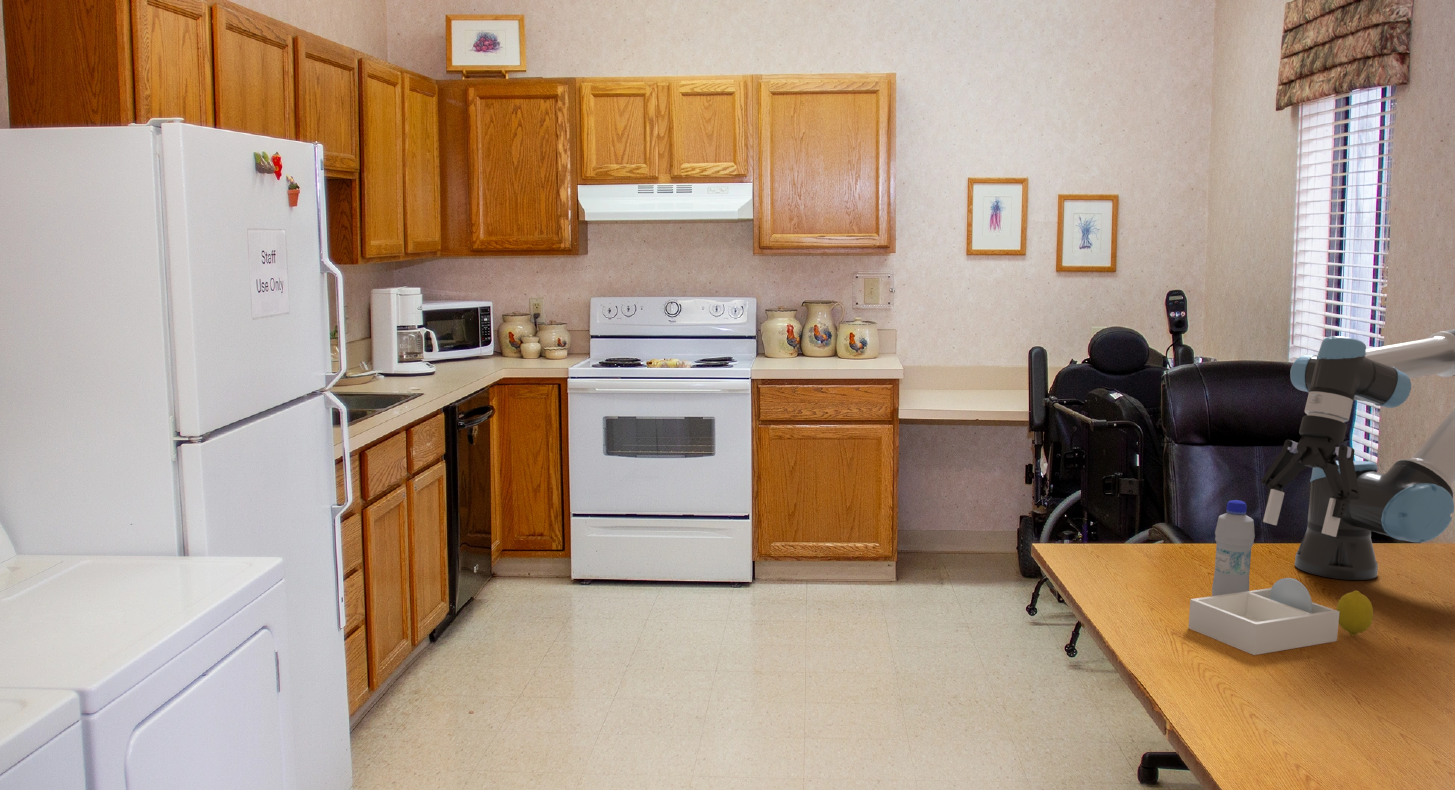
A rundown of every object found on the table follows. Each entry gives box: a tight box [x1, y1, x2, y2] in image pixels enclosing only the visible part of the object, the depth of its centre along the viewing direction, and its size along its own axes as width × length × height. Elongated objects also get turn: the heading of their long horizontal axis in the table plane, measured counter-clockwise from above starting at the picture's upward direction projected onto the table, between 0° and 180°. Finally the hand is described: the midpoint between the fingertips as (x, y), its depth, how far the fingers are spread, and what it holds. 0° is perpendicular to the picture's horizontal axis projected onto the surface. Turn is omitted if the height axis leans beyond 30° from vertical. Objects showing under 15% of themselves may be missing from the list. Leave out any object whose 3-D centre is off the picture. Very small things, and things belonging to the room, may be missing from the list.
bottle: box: [1211, 499, 1256, 596], centre depth 207 cm, size 7×7×20 cm
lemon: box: [1335, 590, 1374, 637], centre depth 192 cm, size 6×6×8 cm
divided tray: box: [1188, 577, 1340, 656], centre depth 192 cm, size 19×14×9 cm
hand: (1298, 529), depth 208 cm, fingers open, 13 cm apart
